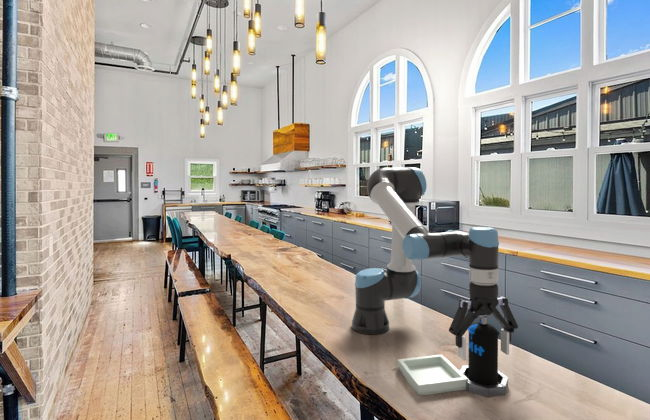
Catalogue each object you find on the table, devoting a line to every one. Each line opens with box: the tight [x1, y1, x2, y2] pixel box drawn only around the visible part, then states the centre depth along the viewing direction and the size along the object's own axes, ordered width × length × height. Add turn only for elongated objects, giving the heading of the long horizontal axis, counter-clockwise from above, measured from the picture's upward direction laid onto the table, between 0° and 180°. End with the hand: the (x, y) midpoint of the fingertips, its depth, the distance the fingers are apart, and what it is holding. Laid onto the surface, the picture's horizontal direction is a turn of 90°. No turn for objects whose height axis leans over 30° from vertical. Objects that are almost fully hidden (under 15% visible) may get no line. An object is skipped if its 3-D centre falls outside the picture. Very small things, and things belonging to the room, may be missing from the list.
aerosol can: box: [467, 315, 500, 386], centre depth 103 cm, size 8×8×20 cm
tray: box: [397, 353, 469, 397], centre depth 107 cm, size 15×15×3 cm
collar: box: [459, 364, 509, 398], centre depth 104 cm, size 12×12×2 cm
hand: (483, 355), depth 103 cm, fingers open, 13 cm apart
